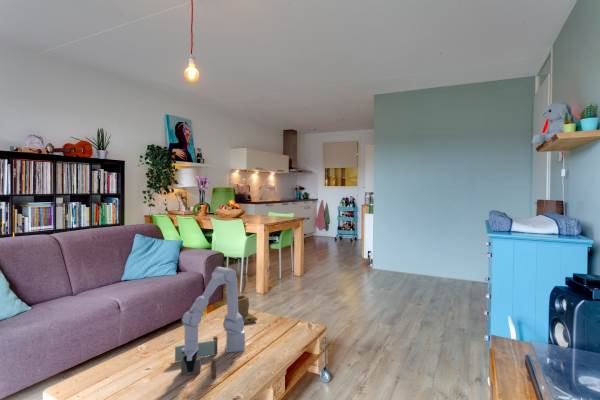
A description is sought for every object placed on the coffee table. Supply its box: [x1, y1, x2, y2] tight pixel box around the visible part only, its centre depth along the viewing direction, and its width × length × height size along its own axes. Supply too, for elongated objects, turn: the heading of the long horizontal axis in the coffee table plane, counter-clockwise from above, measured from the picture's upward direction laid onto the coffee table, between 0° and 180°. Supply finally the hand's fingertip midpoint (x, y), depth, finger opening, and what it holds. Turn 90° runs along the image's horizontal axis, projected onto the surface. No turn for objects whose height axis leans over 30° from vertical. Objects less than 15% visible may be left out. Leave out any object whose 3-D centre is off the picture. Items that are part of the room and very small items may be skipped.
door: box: [174, 339, 218, 362], centre depth 157 cm, size 19×2×7 cm, turn 113°
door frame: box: [210, 336, 219, 380], centre depth 152 cm, size 2×24×8 cm, turn 13°
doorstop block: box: [180, 355, 202, 376], centre depth 146 cm, size 8×4×6 cm, turn 103°
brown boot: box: [238, 295, 258, 324], centre depth 204 cm, size 15×12×15 cm
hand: (191, 368), depth 146 cm, fingers closed on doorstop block, 4 cm apart
